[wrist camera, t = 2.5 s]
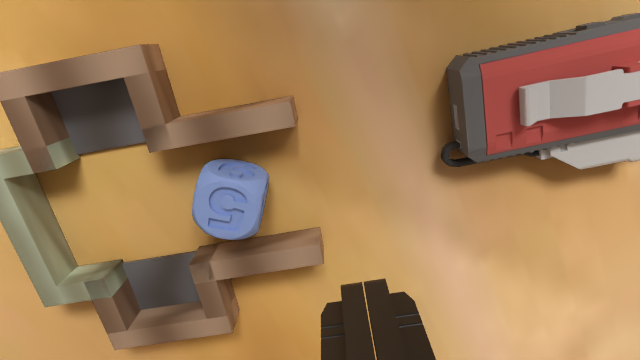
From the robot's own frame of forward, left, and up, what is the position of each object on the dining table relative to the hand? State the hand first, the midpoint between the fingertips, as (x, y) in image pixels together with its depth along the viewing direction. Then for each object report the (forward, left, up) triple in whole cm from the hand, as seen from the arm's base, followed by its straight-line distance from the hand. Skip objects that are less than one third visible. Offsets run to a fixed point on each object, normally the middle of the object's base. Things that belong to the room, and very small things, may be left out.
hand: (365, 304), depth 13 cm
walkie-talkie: (-16, -2, -15) cm, 22 cm away
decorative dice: (+7, 0, -15) cm, 16 cm away
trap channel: (+12, 0, -14) cm, 19 cm away
